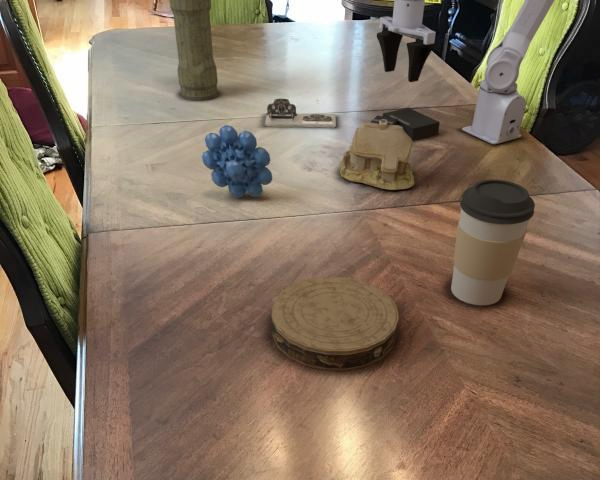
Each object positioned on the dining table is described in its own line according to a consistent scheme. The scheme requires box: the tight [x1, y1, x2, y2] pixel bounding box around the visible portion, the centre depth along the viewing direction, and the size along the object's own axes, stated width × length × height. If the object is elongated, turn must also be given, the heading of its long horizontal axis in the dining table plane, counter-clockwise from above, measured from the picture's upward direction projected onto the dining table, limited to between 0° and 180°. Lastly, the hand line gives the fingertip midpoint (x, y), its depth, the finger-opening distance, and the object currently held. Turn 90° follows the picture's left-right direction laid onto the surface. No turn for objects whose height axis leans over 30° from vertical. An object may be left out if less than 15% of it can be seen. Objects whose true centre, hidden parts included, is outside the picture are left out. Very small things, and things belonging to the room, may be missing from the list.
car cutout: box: [264, 98, 337, 128], centre depth 131 cm, size 15×7×4 cm, turn 88°
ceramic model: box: [338, 119, 415, 191], centre depth 109 cm, size 14×11×10 cm
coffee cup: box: [450, 178, 536, 306], centre depth 80 cm, size 9×9×15 cm
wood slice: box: [271, 276, 400, 372], centre depth 78 cm, size 16×16×3 cm
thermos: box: [169, 0, 219, 102], centre depth 132 cm, size 9×12×35 cm
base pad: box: [382, 107, 441, 142], centre depth 128 cm, size 10×7×3 cm
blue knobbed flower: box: [201, 124, 273, 199], centre depth 101 cm, size 12×7×12 cm, turn 85°
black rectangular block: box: [369, 115, 398, 125], centre depth 125 cm, size 4×6×3 cm
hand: (401, 76), depth 125 cm, fingers open, 7 cm apart
